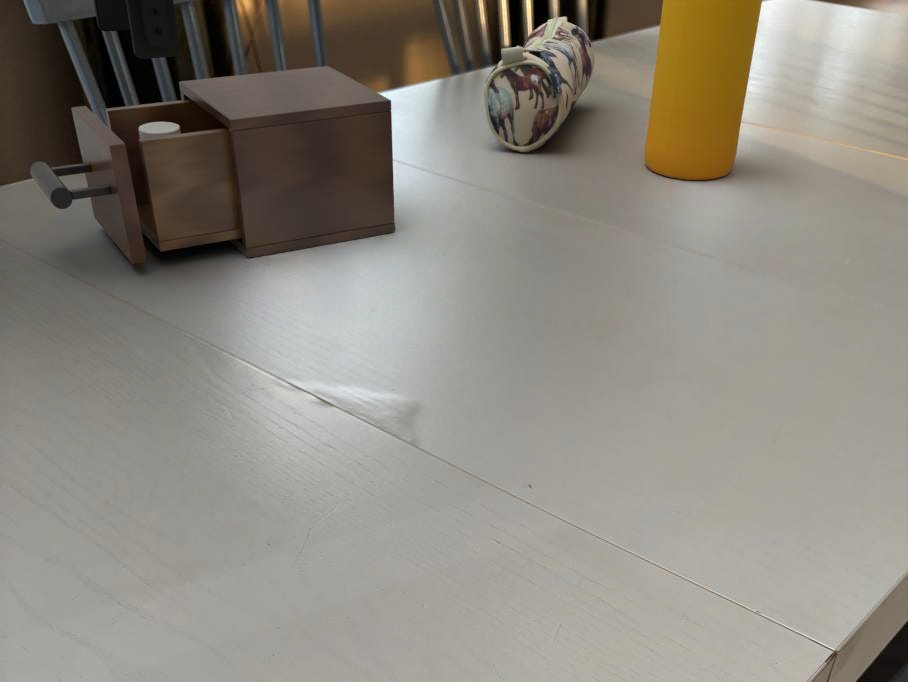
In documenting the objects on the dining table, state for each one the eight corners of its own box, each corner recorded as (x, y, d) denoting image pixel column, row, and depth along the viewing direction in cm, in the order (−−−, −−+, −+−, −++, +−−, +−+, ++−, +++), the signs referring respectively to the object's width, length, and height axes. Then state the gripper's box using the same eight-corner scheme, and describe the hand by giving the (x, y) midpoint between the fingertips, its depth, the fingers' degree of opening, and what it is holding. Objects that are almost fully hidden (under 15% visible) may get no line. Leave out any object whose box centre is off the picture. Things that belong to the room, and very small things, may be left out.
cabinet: (247, 258, 86) (230, 119, 79) (197, 210, 95) (178, 81, 88) (395, 232, 92) (391, 100, 85) (336, 189, 100) (328, 65, 93)
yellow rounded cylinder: (752, 171, 107) (818, -190, 88) (690, 187, 103) (746, -189, 84) (685, 148, 113) (735, -197, 94) (624, 163, 108) (662, -196, 89)
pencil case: (559, 158, 109) (566, 52, 102) (479, 150, 110) (482, 45, 104) (592, 105, 125) (600, 11, 119) (522, 98, 126) (527, 5, 120)
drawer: (73, 274, 81) (44, 153, 75) (39, 227, 88) (11, 113, 82) (281, 238, 87) (270, 125, 82) (233, 197, 95) (220, 90, 89)
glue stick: (160, 226, 86) (144, 134, 81) (149, 213, 88) (133, 124, 83) (198, 220, 87) (185, 129, 83) (186, 208, 89) (172, 119, 85)
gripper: (5, -262, 72) (59, 23, 83) (67, -255, 61) (119, 72, 72) (115, -256, 75) (153, 18, 86) (193, -249, 64) (225, 64, 75)
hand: (138, 42), depth 79 cm, fingers open, 9 cm apart
